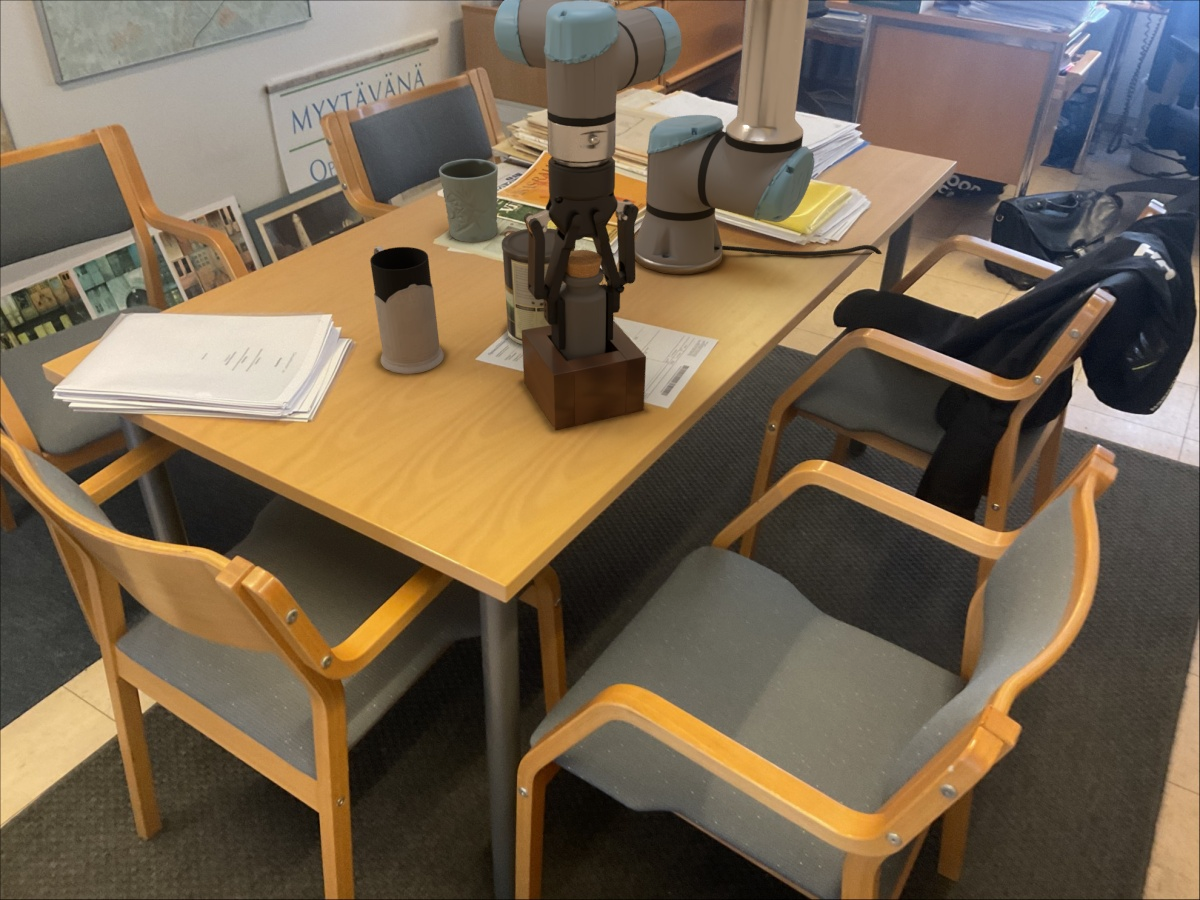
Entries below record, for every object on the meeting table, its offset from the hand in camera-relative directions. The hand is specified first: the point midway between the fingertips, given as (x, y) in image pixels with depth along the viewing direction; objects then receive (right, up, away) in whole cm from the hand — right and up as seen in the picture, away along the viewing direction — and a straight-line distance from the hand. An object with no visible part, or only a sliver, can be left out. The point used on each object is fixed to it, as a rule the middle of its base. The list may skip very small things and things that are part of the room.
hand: (582, 339), depth 114 cm
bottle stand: (0, -7, +5) cm, 8 cm away
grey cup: (-21, +25, +50) cm, 60 cm away
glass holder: (-26, 0, +15) cm, 30 cm away
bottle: (0, -3, +2) cm, 4 cm away
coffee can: (-6, +3, +20) cm, 21 cm away
